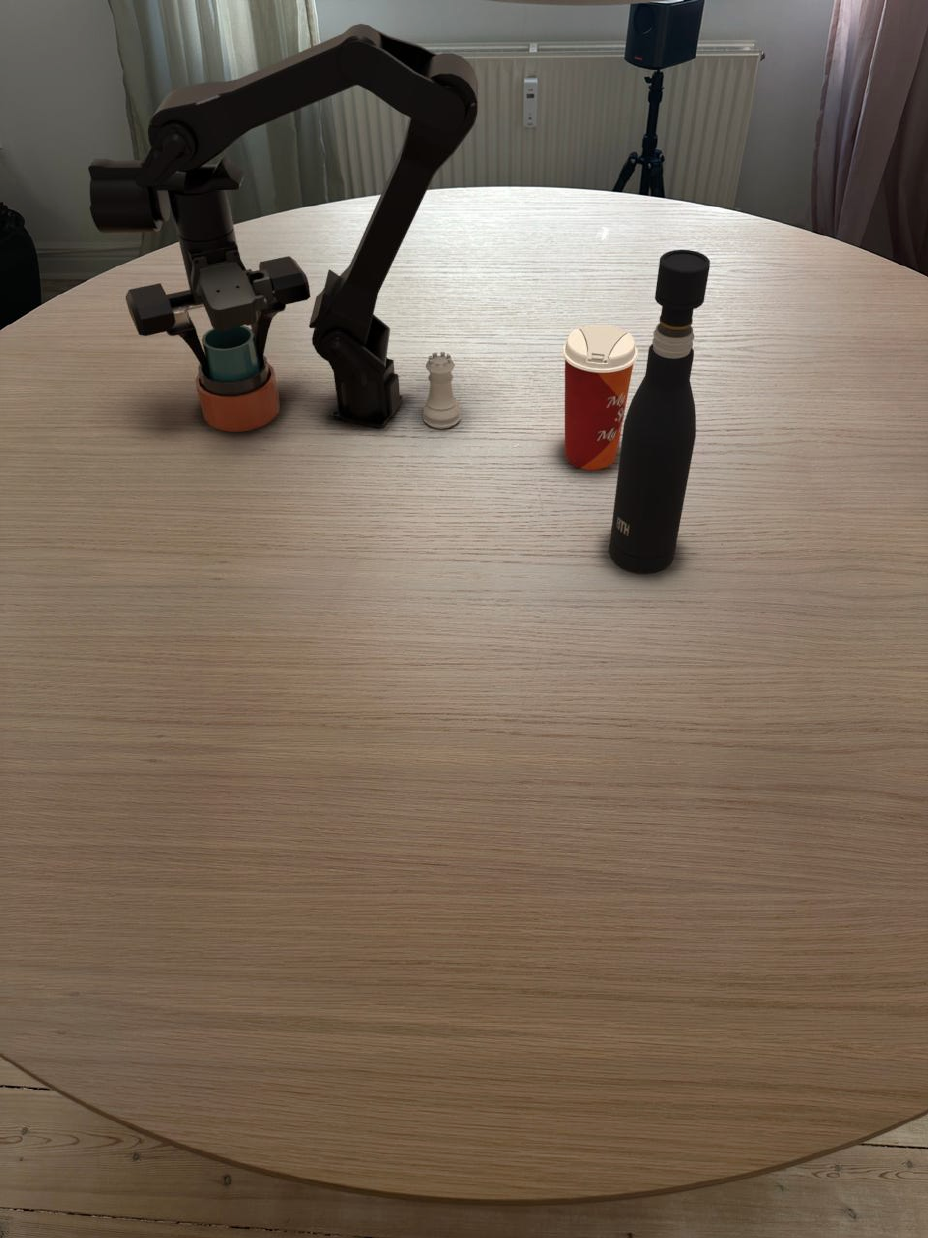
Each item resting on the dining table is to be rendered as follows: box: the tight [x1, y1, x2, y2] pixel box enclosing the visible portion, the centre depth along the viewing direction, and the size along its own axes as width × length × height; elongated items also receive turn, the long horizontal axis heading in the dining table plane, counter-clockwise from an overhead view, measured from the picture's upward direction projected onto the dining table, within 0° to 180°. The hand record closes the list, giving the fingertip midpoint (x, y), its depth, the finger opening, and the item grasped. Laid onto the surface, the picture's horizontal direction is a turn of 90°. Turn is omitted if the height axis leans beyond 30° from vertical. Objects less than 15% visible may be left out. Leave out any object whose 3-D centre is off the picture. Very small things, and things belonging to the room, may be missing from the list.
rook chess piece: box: [422, 351, 462, 430], centre depth 111 cm, size 4×4×8 cm
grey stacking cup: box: [197, 354, 270, 396], centre depth 114 cm, size 8×8×6 cm
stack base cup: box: [195, 361, 281, 433], centre depth 114 cm, size 9×9×4 cm
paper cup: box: [561, 324, 639, 471], centre depth 104 cm, size 8×8×14 cm
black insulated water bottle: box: [608, 249, 711, 574], centre depth 86 cm, size 6×6×30 cm
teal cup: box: [201, 325, 261, 382], centre depth 112 cm, size 6×6×8 cm
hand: (233, 364), depth 111 cm, fingers closed on teal cup, 6 cm apart
